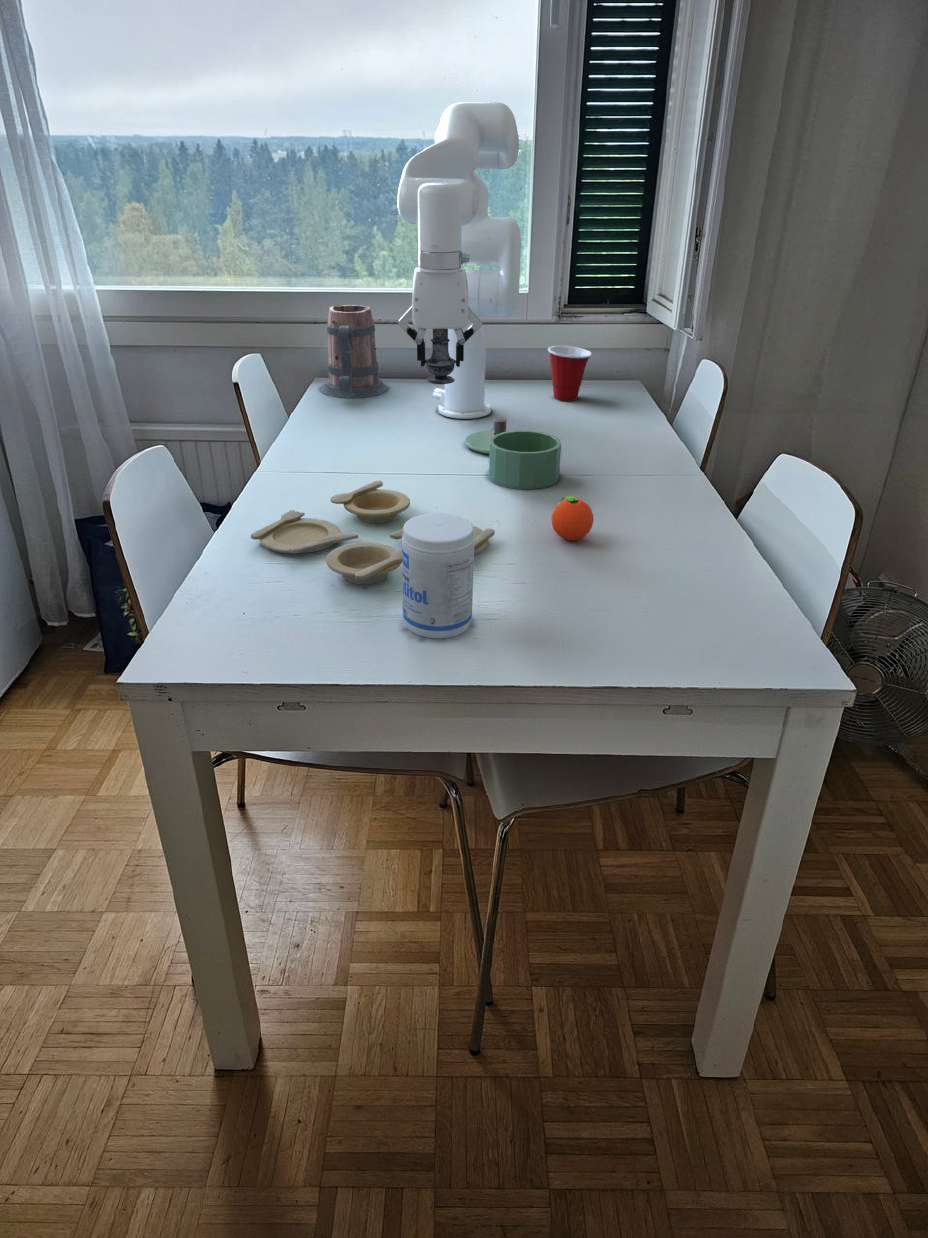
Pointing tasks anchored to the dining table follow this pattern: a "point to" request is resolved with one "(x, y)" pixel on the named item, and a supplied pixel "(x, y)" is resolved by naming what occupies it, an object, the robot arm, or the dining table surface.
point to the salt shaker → (440, 359)
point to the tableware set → (350, 535)
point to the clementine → (572, 518)
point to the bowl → (524, 459)
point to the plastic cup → (567, 370)
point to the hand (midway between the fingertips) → (440, 363)
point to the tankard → (352, 353)
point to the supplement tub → (437, 574)
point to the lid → (486, 436)
